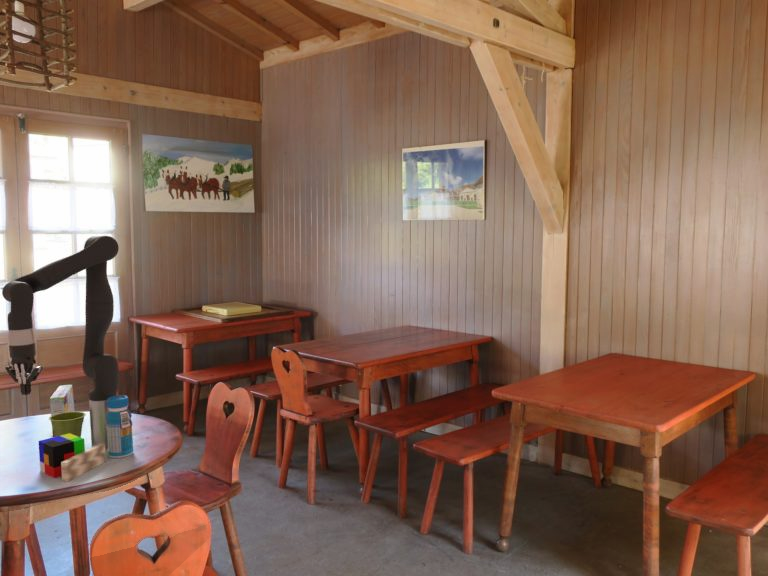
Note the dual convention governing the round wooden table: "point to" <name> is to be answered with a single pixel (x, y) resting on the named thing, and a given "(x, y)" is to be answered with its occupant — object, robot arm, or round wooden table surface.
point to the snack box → (62, 401)
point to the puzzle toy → (58, 452)
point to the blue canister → (119, 427)
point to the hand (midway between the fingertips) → (26, 394)
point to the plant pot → (67, 423)
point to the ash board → (83, 462)
